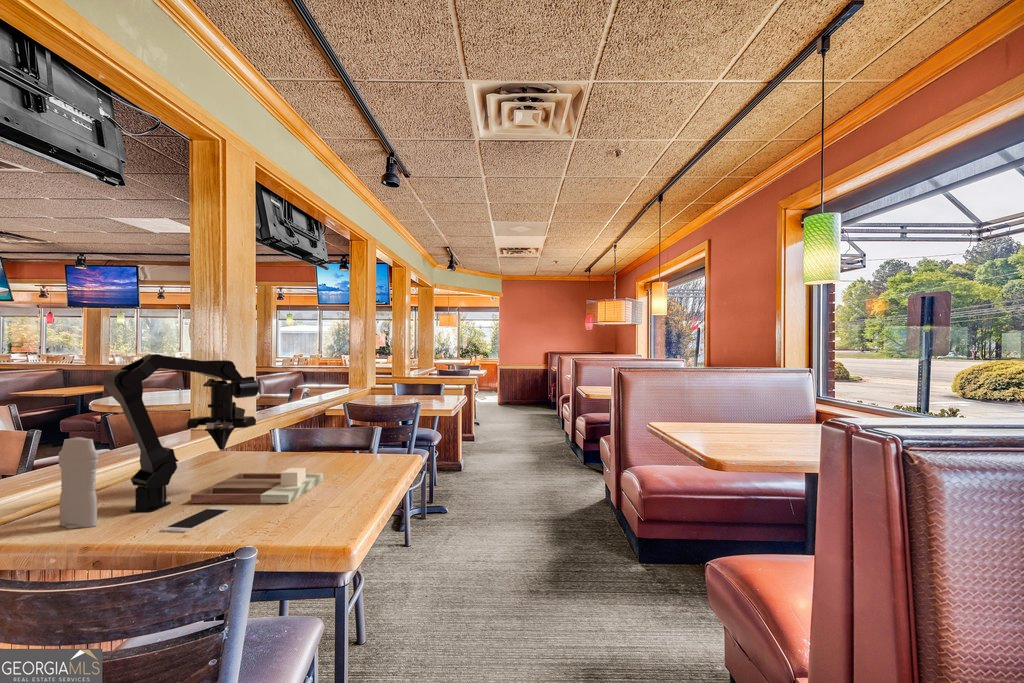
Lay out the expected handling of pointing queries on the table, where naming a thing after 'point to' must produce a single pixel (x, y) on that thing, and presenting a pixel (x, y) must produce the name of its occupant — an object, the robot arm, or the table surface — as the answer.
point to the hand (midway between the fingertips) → (222, 449)
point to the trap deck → (255, 489)
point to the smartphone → (197, 519)
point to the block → (293, 476)
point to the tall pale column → (78, 483)
